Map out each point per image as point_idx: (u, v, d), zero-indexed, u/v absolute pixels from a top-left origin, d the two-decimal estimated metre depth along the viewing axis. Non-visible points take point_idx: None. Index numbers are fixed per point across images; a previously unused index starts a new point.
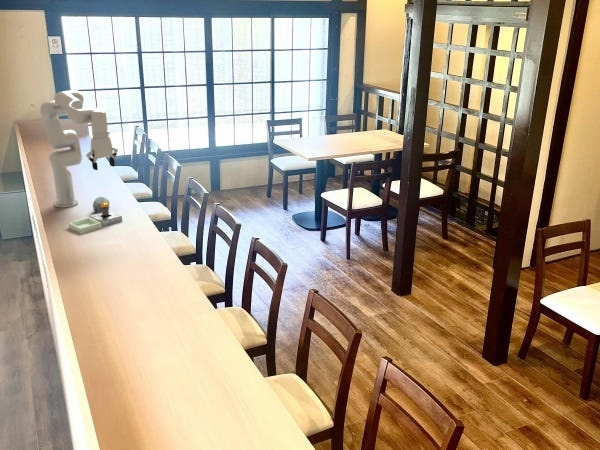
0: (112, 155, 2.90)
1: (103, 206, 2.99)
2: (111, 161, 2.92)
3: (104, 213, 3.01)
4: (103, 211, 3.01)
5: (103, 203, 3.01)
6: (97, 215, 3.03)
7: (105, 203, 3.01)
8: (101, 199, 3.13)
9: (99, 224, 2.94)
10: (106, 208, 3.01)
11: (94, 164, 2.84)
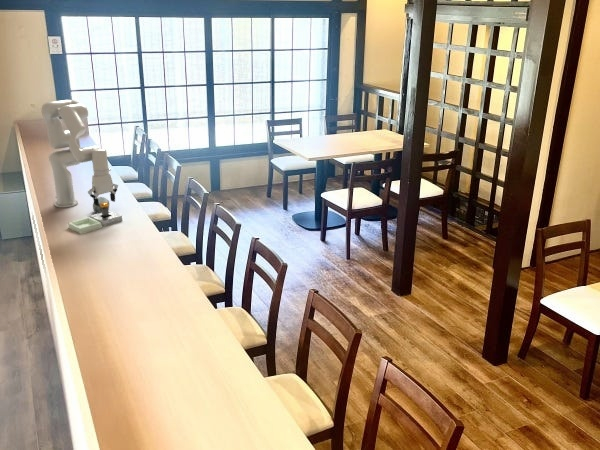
0: (113, 191, 3.01)
1: (103, 206, 2.99)
2: (112, 196, 3.02)
3: (104, 213, 3.01)
4: (103, 211, 3.01)
5: (103, 203, 3.01)
6: (97, 215, 3.03)
7: (105, 203, 3.01)
8: (101, 199, 3.13)
9: (99, 224, 2.94)
10: (106, 208, 3.01)
11: (95, 200, 2.95)
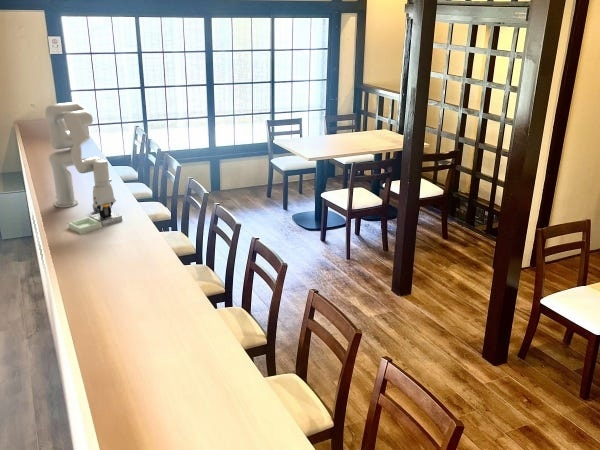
0: (110, 204, 3.02)
1: (103, 206, 2.99)
2: None
3: (104, 213, 3.01)
4: None
5: None
6: (97, 215, 3.03)
7: None
8: None
9: (99, 224, 2.94)
10: (106, 208, 3.01)
11: (101, 212, 3.00)
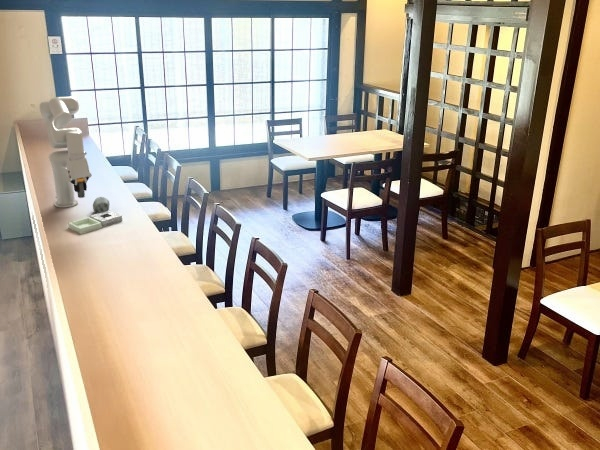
0: (85, 178, 2.86)
1: (78, 180, 2.83)
2: None
3: (79, 188, 2.85)
4: None
5: None
6: (97, 215, 3.03)
7: None
8: (101, 199, 3.13)
9: (99, 224, 2.94)
10: (81, 183, 2.84)
11: (76, 186, 2.83)
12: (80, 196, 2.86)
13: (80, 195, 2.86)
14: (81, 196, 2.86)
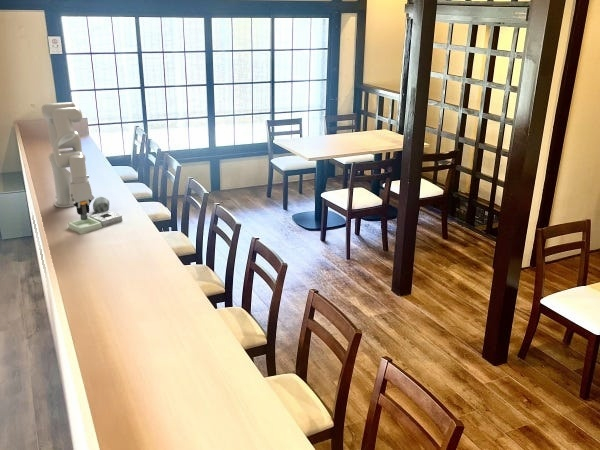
0: (88, 201, 2.90)
1: (80, 203, 2.87)
2: None
3: (82, 211, 2.89)
4: None
5: None
6: (97, 215, 3.03)
7: None
8: (101, 199, 3.13)
9: (99, 224, 2.94)
10: (84, 205, 2.89)
11: (78, 209, 2.88)
12: (83, 218, 2.91)
13: (83, 217, 2.90)
14: (84, 218, 2.91)
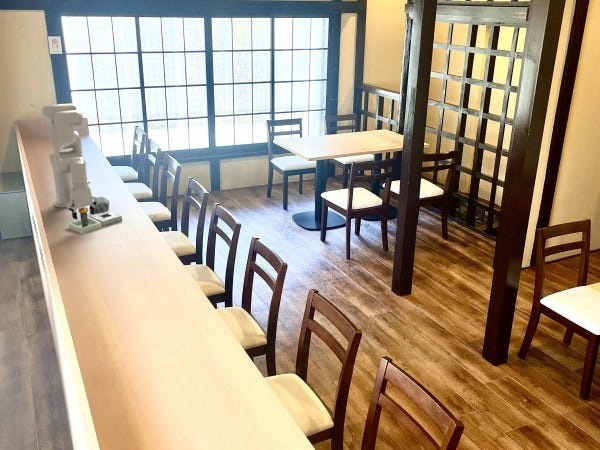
0: (92, 204, 2.93)
1: (81, 211, 2.89)
2: (91, 210, 2.94)
3: (83, 219, 2.91)
4: (81, 216, 2.91)
5: (81, 208, 2.91)
6: (97, 215, 3.03)
7: (84, 208, 2.91)
8: (101, 199, 3.13)
9: (99, 224, 2.94)
10: (85, 213, 2.90)
11: (74, 214, 2.87)
12: (84, 226, 2.92)
13: (84, 225, 2.92)
14: None
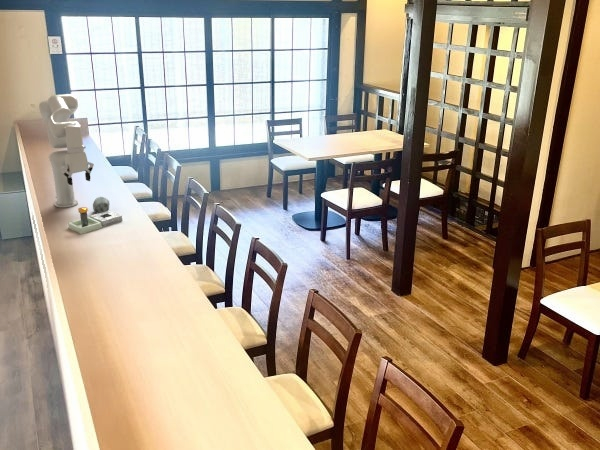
0: (88, 170, 2.87)
1: (81, 211, 2.89)
2: (87, 176, 2.88)
3: (83, 219, 2.91)
4: (81, 216, 2.91)
5: (81, 208, 2.91)
6: (97, 215, 3.03)
7: (84, 208, 2.91)
8: (101, 199, 3.13)
9: (99, 224, 2.94)
10: (85, 213, 2.90)
11: (69, 179, 2.81)
12: (84, 226, 2.92)
13: (84, 225, 2.92)
14: None
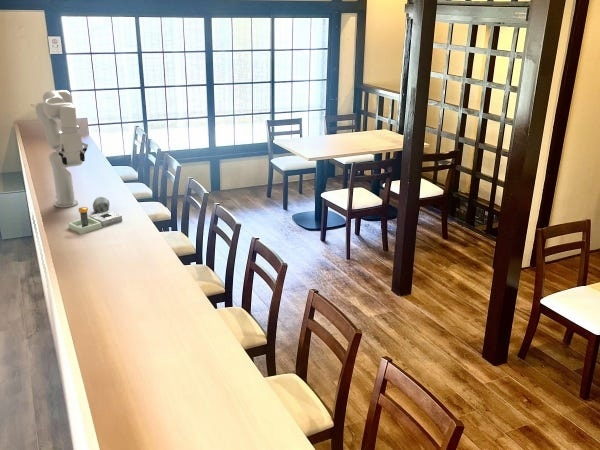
0: (82, 150, 2.93)
1: (81, 211, 2.89)
2: (81, 156, 2.94)
3: (83, 219, 2.91)
4: (82, 216, 2.91)
5: (82, 208, 2.91)
6: (97, 215, 3.03)
7: (84, 208, 2.91)
8: (101, 199, 3.13)
9: (99, 224, 2.94)
10: (85, 213, 2.91)
11: (63, 159, 2.87)
12: (84, 226, 2.92)
13: (84, 225, 2.92)
14: None
